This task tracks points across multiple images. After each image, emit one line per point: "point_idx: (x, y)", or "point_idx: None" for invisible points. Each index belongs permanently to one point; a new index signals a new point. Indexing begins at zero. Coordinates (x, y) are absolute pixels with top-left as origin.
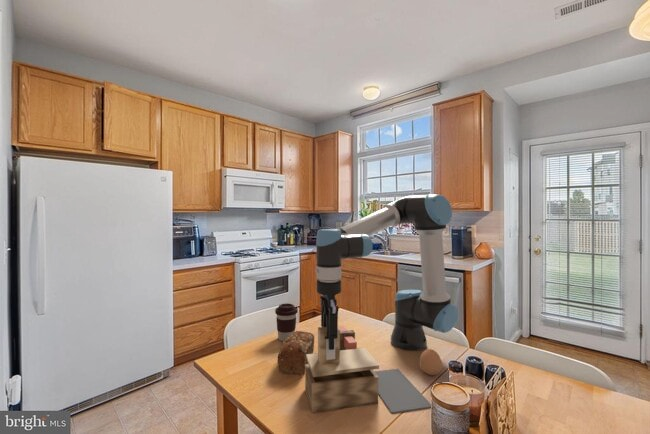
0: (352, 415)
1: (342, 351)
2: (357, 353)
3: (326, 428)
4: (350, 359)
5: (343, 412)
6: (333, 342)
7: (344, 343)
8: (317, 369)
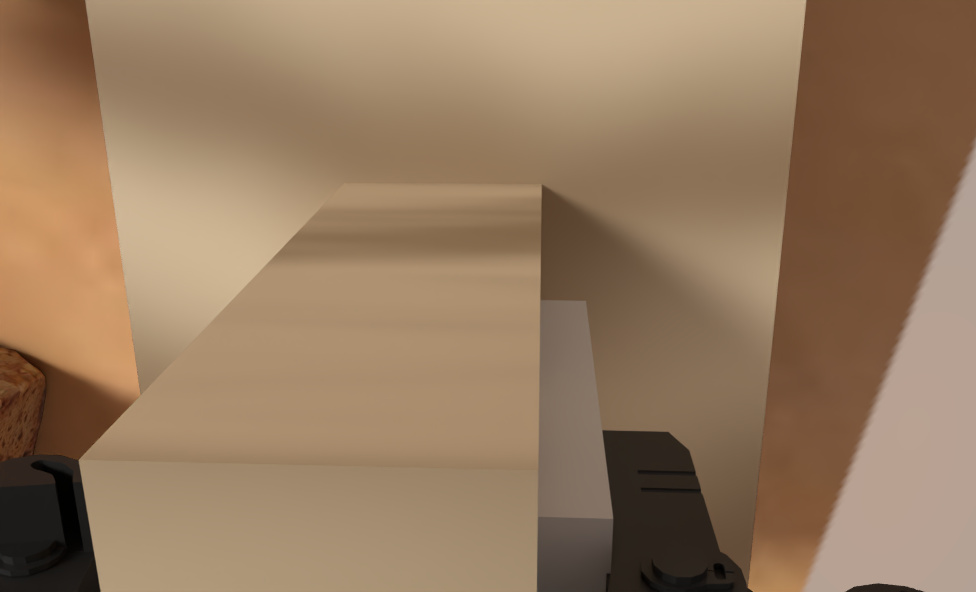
0: (819, 47)
1: (136, 11)
2: None
3: (904, 328)
4: None
5: None
6: (712, 543)
7: None
8: None
